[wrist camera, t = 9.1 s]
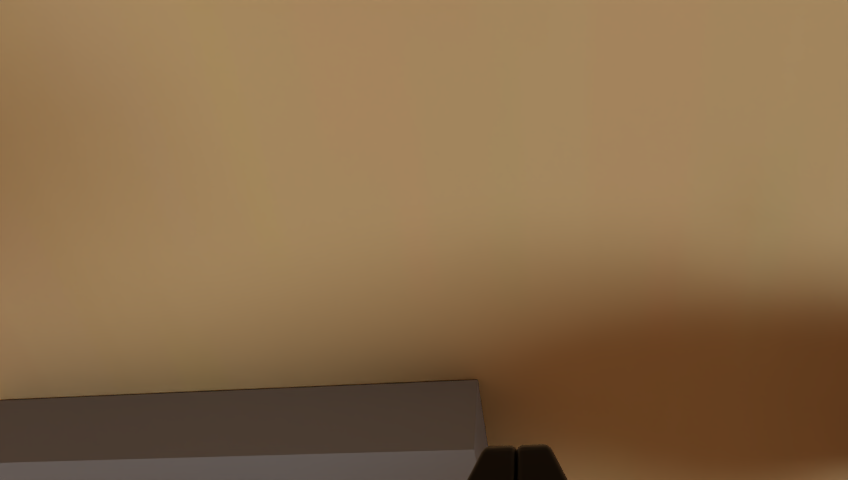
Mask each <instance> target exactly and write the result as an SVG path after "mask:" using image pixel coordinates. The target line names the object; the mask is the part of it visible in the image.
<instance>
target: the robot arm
mask: <svg viewBox="0 0 848 480" xmlns="http://www.w3.org/2000/svg"><path fill="white" fill-rule="evenodd" d="M467 480H567V478H566V476H565V474H564V472H563V470H562V468H561V466H560V464H559V463H558V461H557V459H556V457H555V455H554V453H553V451H552V449H551V448H550V447H549V446H548V445H544V444H542V445H522V446H520V447H518V449H517V450H516V448H515V447H513V446H489V447H486V448H485V449H484V450H483V451H482V452H481V454H480V456H479V458H478V460H477V462H476V464H475V466H474V468H473V469H472V471H471V473H470V475H469V477H468V479H467Z"/></svg>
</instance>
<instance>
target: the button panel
mask: <svg viewBox="0 0 848 480" xmlns="http://www.w3.org/2000/svg"><path fill="white" fill-rule="evenodd" d="M486 447H488V444H487V437H486V431H485V424H484V417H483V411H482V404H481V398H480V391H479V385H478V380H463V381H440V382H417V383H393V384H370V385H347V386H324V387H301V388H277V389H254V390H231V391H208V392H185V393H161V394H138V395H115V396H92V397H68V398H45V399H22V400H0V480H467V479H468V477H469V475H470V473H471V471H472V469H473V468H474V466H475V464H476V462H477V460H478V458H479V456H480V454H481V452H482V451H483V450H484V449H485V448H486Z"/></svg>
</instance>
